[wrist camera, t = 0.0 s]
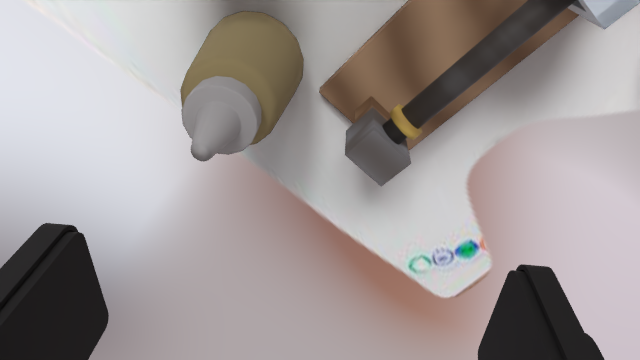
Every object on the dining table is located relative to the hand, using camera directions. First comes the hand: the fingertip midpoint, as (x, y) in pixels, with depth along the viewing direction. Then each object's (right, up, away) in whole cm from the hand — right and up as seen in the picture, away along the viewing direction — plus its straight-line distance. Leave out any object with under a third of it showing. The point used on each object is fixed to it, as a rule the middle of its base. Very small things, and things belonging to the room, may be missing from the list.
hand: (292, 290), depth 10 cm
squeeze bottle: (-4, +14, +29) cm, 32 cm away
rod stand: (+14, +16, +26) cm, 33 cm away
